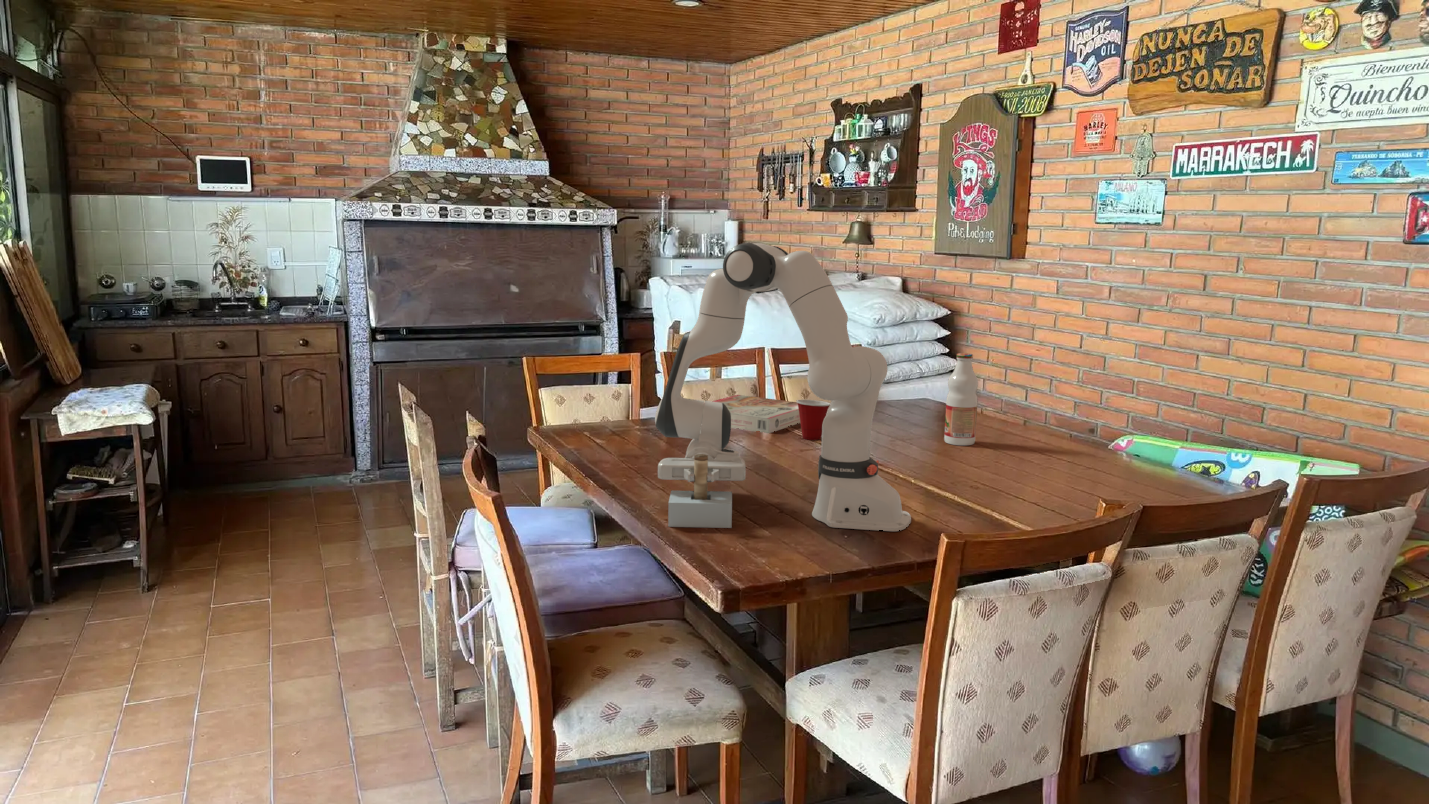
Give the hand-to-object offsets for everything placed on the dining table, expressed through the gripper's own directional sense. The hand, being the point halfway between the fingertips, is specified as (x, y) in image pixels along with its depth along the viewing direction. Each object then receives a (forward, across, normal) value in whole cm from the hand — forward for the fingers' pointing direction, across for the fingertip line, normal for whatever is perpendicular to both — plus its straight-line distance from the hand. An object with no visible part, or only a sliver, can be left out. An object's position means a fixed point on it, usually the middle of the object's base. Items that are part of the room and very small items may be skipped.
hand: (700, 478), depth 216 cm
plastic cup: (-90, +32, +10) cm, 96 cm away
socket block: (-1, 0, +10) cm, 10 cm away
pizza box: (-118, +14, +11) cm, 120 cm away
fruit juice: (-87, +78, +10) cm, 118 cm away
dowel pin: (-1, 0, +7) cm, 7 cm away
